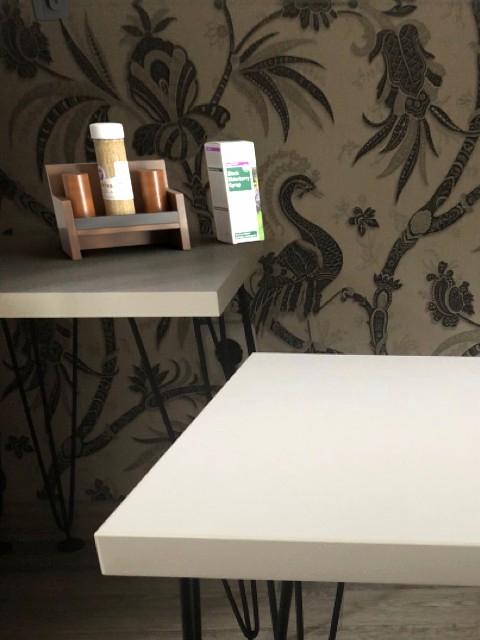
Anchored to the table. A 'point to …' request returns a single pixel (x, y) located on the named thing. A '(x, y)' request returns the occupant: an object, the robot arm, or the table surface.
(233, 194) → the syrup box
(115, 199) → the sprinkles bottle
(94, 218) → the spice rack
